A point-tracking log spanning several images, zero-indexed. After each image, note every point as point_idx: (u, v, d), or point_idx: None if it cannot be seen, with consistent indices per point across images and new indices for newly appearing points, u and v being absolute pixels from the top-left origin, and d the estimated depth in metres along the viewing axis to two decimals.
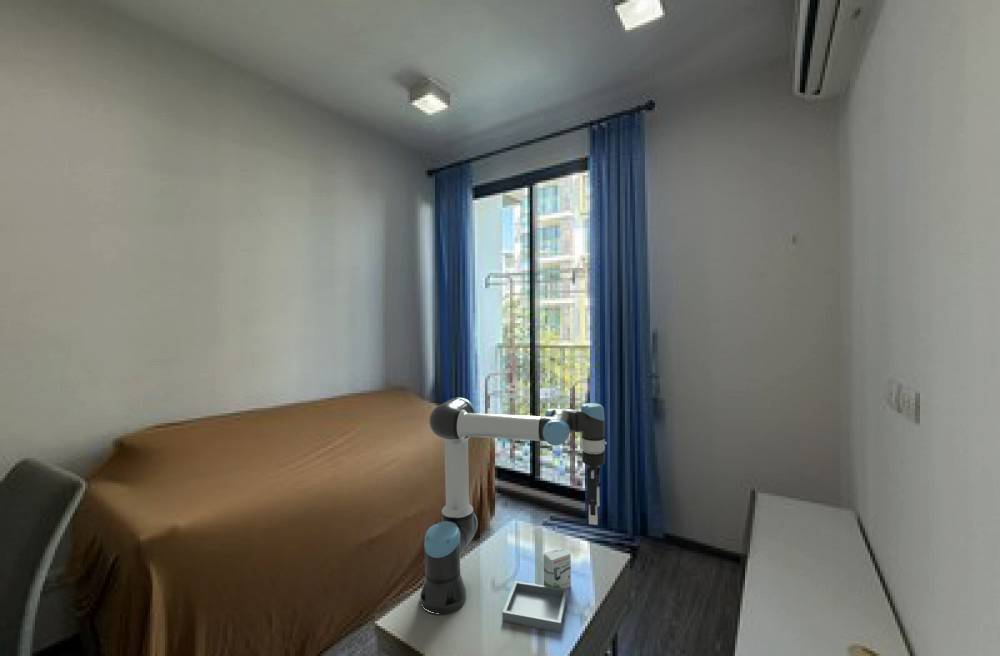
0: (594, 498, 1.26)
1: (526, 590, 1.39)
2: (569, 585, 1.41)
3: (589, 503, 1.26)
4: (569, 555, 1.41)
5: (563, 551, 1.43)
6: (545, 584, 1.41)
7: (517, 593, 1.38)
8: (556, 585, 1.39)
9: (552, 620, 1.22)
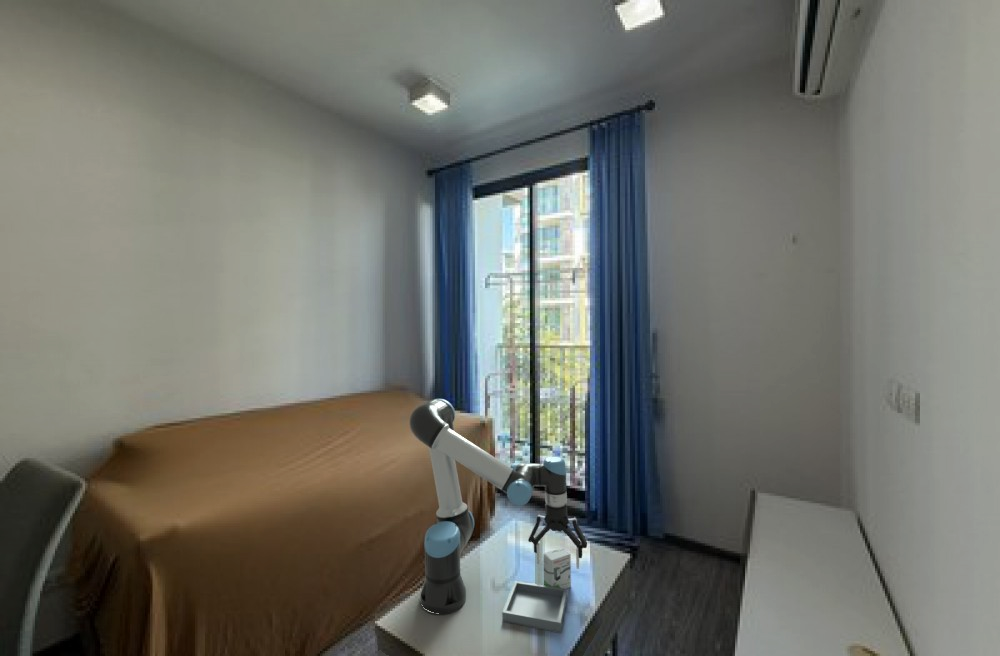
0: (530, 535, 1.44)
1: (526, 590, 1.39)
2: (569, 585, 1.41)
3: None
4: (569, 555, 1.41)
5: (563, 551, 1.43)
6: (545, 584, 1.41)
7: (517, 593, 1.38)
8: (556, 585, 1.39)
9: (552, 620, 1.22)
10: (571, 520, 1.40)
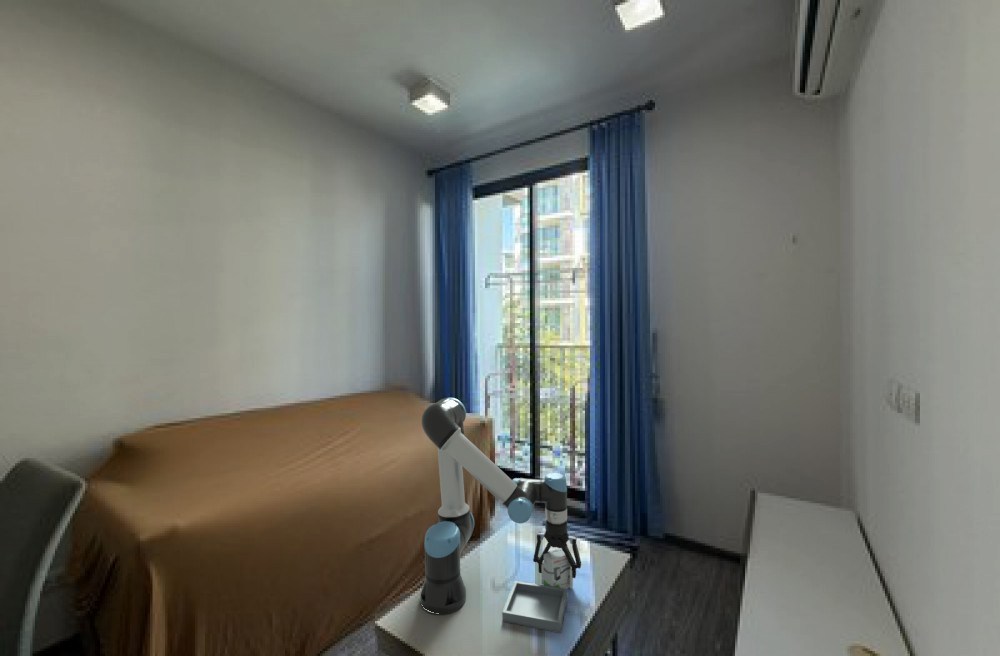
0: (534, 555, 1.43)
1: (526, 590, 1.39)
2: (569, 585, 1.41)
3: None
4: None
5: (563, 551, 1.43)
6: (545, 584, 1.41)
7: (517, 593, 1.38)
8: (556, 585, 1.39)
9: (552, 620, 1.22)
10: (571, 538, 1.40)
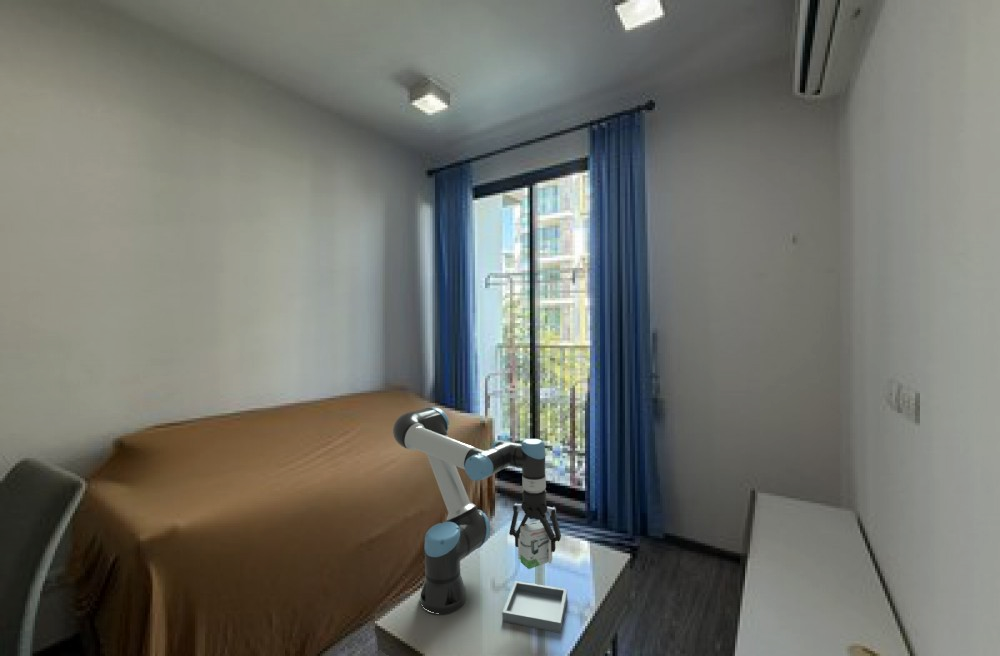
0: None
1: (526, 590, 1.39)
2: (548, 560, 1.30)
3: None
4: None
5: None
6: (522, 559, 1.29)
7: (517, 593, 1.38)
8: (533, 559, 1.27)
9: (552, 620, 1.22)
10: (550, 509, 1.29)
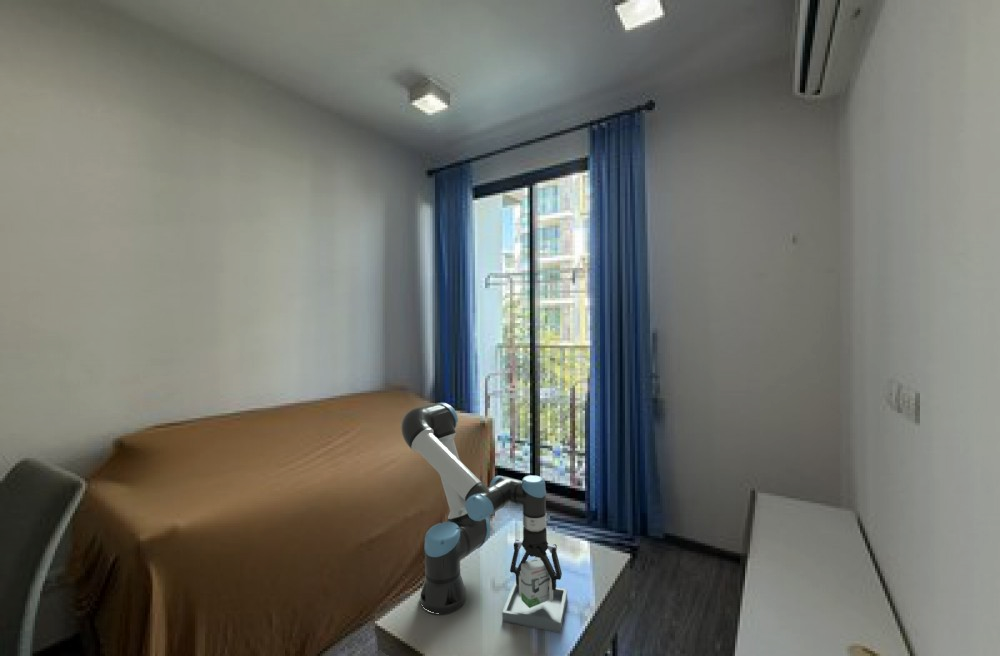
0: (511, 565, 1.32)
1: None
2: None
3: None
4: None
5: None
6: (523, 597, 1.29)
7: (517, 593, 1.38)
8: (534, 598, 1.27)
9: (552, 620, 1.22)
10: (551, 547, 1.29)
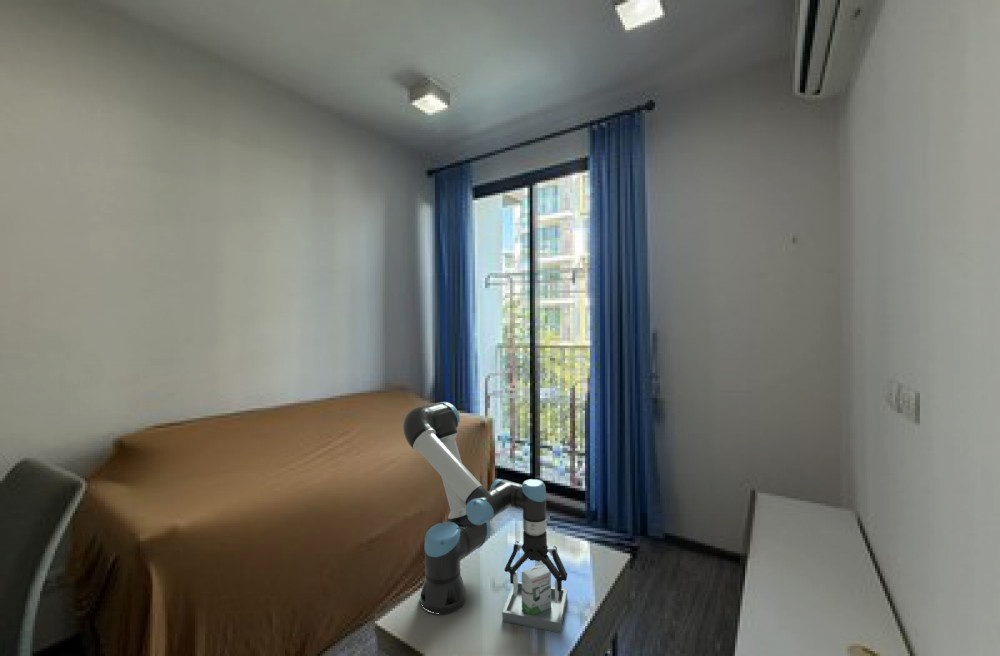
0: None
1: None
2: (549, 606, 1.30)
3: None
4: (549, 573, 1.30)
5: (543, 569, 1.32)
6: (523, 605, 1.29)
7: (517, 593, 1.38)
8: (535, 606, 1.27)
9: (552, 620, 1.22)
10: (550, 549, 1.29)
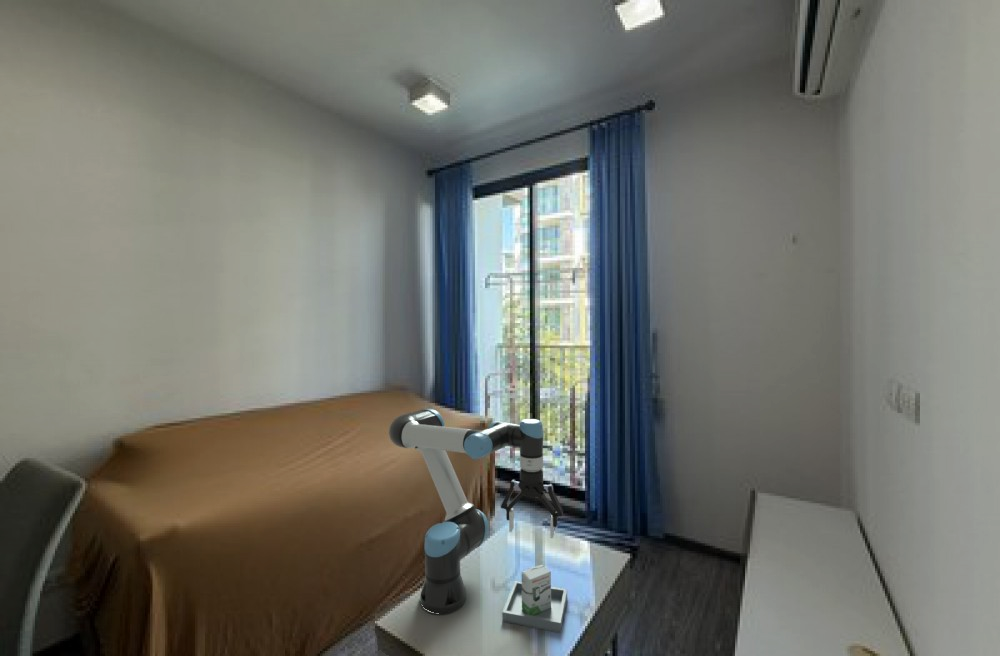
0: (503, 501, 1.35)
1: None
2: (549, 606, 1.30)
3: None
4: (549, 573, 1.30)
5: (543, 569, 1.32)
6: (523, 605, 1.29)
7: (517, 593, 1.38)
8: (535, 606, 1.27)
9: (552, 620, 1.22)
10: (546, 486, 1.30)
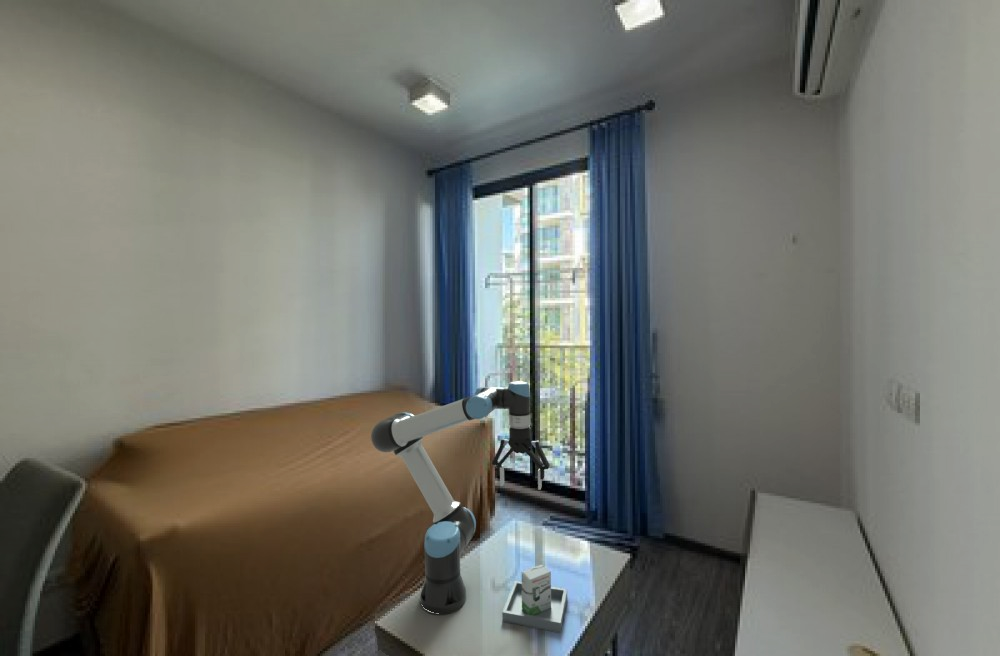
0: (494, 458, 1.45)
1: None
2: (549, 606, 1.30)
3: None
4: (549, 573, 1.30)
5: (543, 569, 1.32)
6: (523, 605, 1.29)
7: (517, 593, 1.38)
8: (535, 606, 1.27)
9: (552, 620, 1.22)
10: (534, 442, 1.41)
